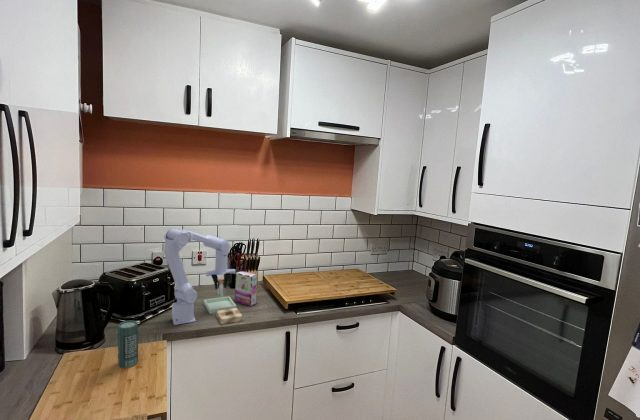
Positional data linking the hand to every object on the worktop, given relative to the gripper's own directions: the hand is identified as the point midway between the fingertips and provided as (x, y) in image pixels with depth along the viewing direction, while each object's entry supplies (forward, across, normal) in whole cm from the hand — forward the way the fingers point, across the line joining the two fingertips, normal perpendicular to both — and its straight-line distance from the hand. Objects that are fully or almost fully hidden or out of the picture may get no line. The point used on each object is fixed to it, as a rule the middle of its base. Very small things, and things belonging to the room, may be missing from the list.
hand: (220, 288), depth 176 cm
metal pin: (+3, 0, -1) cm, 4 cm away
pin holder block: (+10, +1, -14) cm, 17 cm away
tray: (+10, 0, 0) cm, 10 cm away
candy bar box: (+11, +14, +1) cm, 18 cm away
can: (+11, -42, -36) cm, 56 cm away
